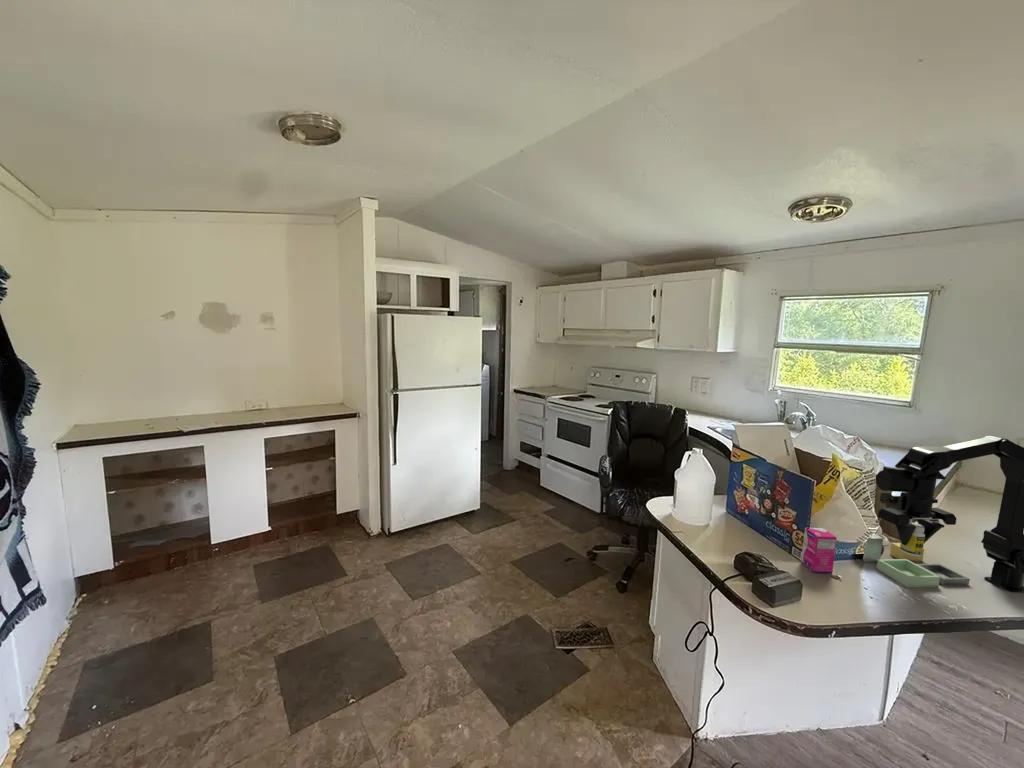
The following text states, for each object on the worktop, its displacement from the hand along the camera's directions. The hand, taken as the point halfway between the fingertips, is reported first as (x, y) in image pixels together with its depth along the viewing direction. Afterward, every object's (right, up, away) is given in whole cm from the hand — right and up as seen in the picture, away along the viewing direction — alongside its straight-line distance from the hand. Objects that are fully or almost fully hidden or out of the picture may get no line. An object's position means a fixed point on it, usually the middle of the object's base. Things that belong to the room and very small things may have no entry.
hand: (912, 544), depth 123 cm
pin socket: (+10, -10, +2) cm, 15 cm away
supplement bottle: (0, -3, 0) cm, 3 cm away
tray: (-1, -10, +1) cm, 10 cm away
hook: (+10, -8, +25) cm, 28 cm away
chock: (+10, -9, +13) cm, 19 cm away
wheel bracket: (-2, -9, +12) cm, 15 cm away
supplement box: (-24, -9, +5) cm, 26 cm away
